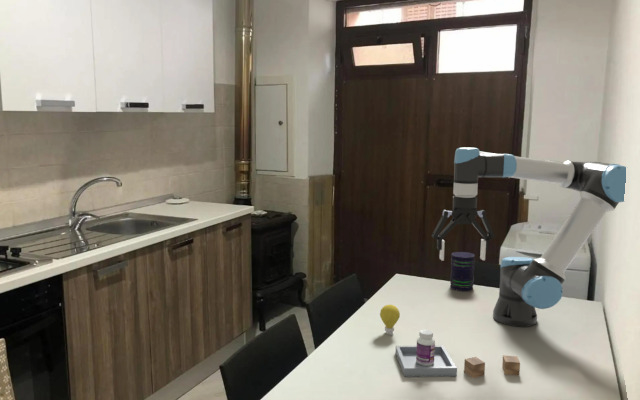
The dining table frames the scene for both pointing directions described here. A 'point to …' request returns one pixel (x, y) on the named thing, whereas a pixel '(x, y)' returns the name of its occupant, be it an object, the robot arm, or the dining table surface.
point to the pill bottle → (425, 348)
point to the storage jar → (462, 271)
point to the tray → (413, 369)
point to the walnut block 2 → (511, 365)
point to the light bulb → (389, 317)
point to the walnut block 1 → (474, 367)
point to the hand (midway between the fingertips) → (462, 259)
